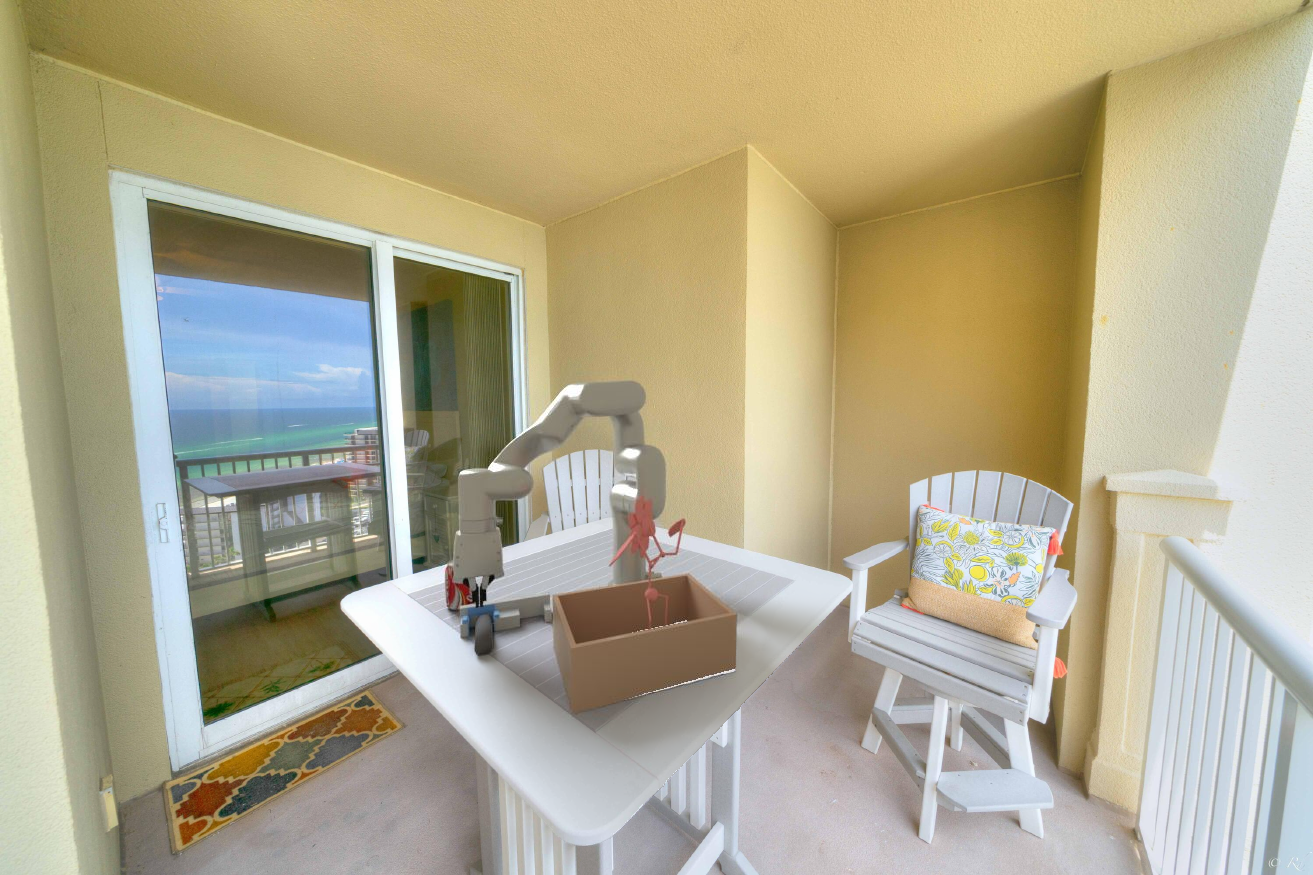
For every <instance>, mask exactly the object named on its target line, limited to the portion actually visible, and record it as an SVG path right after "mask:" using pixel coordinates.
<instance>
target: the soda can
mask: <svg viewBox="0 0 1313 875" xmlns="http://www.w3.org/2000/svg"><path fill="white" fill-rule="evenodd" d="M453 575H454V571H453V559H451V560H449V561H448V562H447V564H446V567H445V569H444V587H445V589H444V590H445V593H444V595H445V603H446V608H448V609H451V610H452V611H460V606H463V605H470V604H474V603H472V591H471V590H470V588H469V587H467V586H466V585H465V584H463V583H461V584H460V583H453V582H452V580H453Z"/></svg>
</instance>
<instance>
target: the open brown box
mask: <svg viewBox="0 0 1313 875" xmlns="http://www.w3.org/2000/svg"><path fill="white" fill-rule="evenodd" d="M648 588H649V580H643V581H637V582H631V583H624V584H618V585H612V586H608V585H607V586H600V587H595V588H594V587H593V588H587V589H579V590H575V591H569V592H563V593H556V594H555V593H554V594H552V637H553V638H552V640H553V641H552V642H553V643H552V644H553V645H552V646H553V647H552V648H553V650H554V654H555V658H556V662H557V665H558V669H559V672H560V676H561V680H562V682H563V687H564V691H565V694H566V698H567V701H568V705H569V709H570V711H571V712H570V714H571V715H575V714H579V713H583V712H588V711H590V710H593V709H597V708H601V707H605V706H610V705H613V704H617V703H620V702H619V701H621V702H624V701H623V700H625V701H627V700H626V699H629V698H632V697H635V696H639V695H642V694H644V693H648V692H653V691H656V690H660V689H664V688H667V687H671V686H674V685H678V684H681V683H684V682H688V681H692V680H696V679H698V678H703V677H705V676H709V675H714V674H717V673H721V672H724V671H729V670H732V669H735V668H736V669H737V631H738V630H737V628H738V626H737V625H738V614H737V613H736V612H735V611H734V610H733V609H731V608H730V607H729V606H728V605H727V604H725V603H724V602H723V601H722V600H721V599H719V597H717V596H716V595H715V594H714V593H712V592H711V591H710V590H709V589H708V588H706V586H705V585H703V584H702V583H701V582H699V580H697V579H696V578H695V577H693V576H692V574H690V573H683V574H677V575H670V576H664V577H663V576H662V578H656V579H651V586H650V588H654V589H656V590H657V592H658V594H660V595H665V596H668V609H667V624H666V625H668V626H665V615H666V597H661V596H658V598H657V599H656V600H655V601H653V602H650V601H649V605H650V614H651V628H653V629H649V621H650V620H649V612H648V604H647V599H646V598H645V592H646V590H647V589H648ZM685 620H687V622H683V623H678V624H674V623H676V622H681V621H685ZM670 624H673V625H670ZM659 626H663V627H659ZM655 627H658V628H655ZM645 629H648V630H645ZM640 630H643V631H640ZM637 631H638V632H637ZM632 632H633V633H632ZM629 700H630V699H629ZM616 702H617V703H616ZM612 703H613V704H612Z"/></svg>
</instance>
